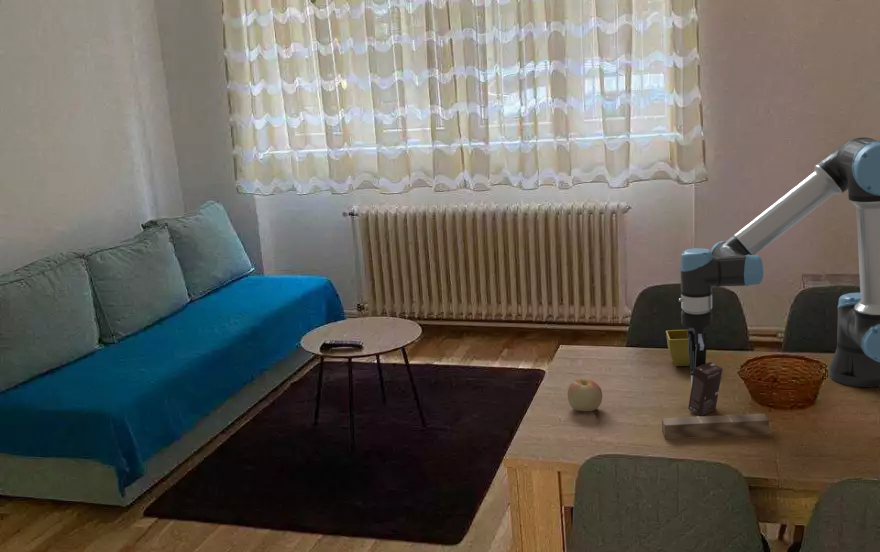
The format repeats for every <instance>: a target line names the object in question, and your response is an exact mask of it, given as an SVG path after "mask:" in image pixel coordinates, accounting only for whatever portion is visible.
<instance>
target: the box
mask: <svg viewBox="0 0 880 552" xmlns="http://www.w3.org/2000/svg"><path fill="white" fill-rule="evenodd" d="M722 374H723V368H722V367H721V366H719V365H716V364H715V363H712V362H708V363H707V362H706V364H703V365H700V366H699V367H696V368H694V375H693V382H692V388H691V387H690V395H689V399H688V400H689V402H688V408H687V409H688V411H690V412H692V413H694V414H696V415H697V416H699V417H700V416H703V415H705V414H709V413H710V412H713V411H715V410H717V409H716V408H717V403H718V399H719V398H718V397H719V392H720V386H721V381H722V380H721V379H722Z"/></svg>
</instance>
